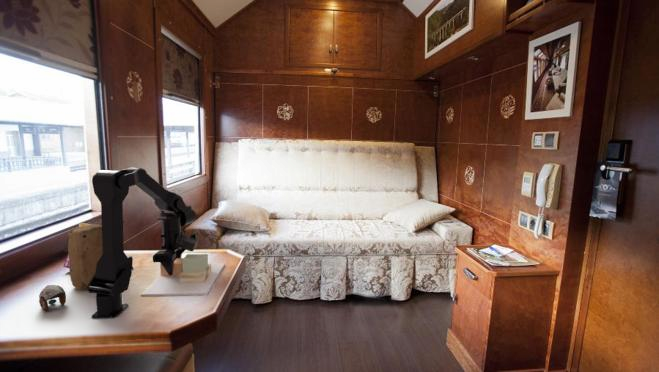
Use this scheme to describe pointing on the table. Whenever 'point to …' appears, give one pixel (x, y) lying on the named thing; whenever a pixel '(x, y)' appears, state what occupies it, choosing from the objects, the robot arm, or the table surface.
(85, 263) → the block
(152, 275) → the table surface
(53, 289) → the helmet
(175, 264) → the terracotta block
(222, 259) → the table surface
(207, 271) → the foundation slab
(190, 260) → the sage block
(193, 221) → the robot arm
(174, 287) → the baseplate
